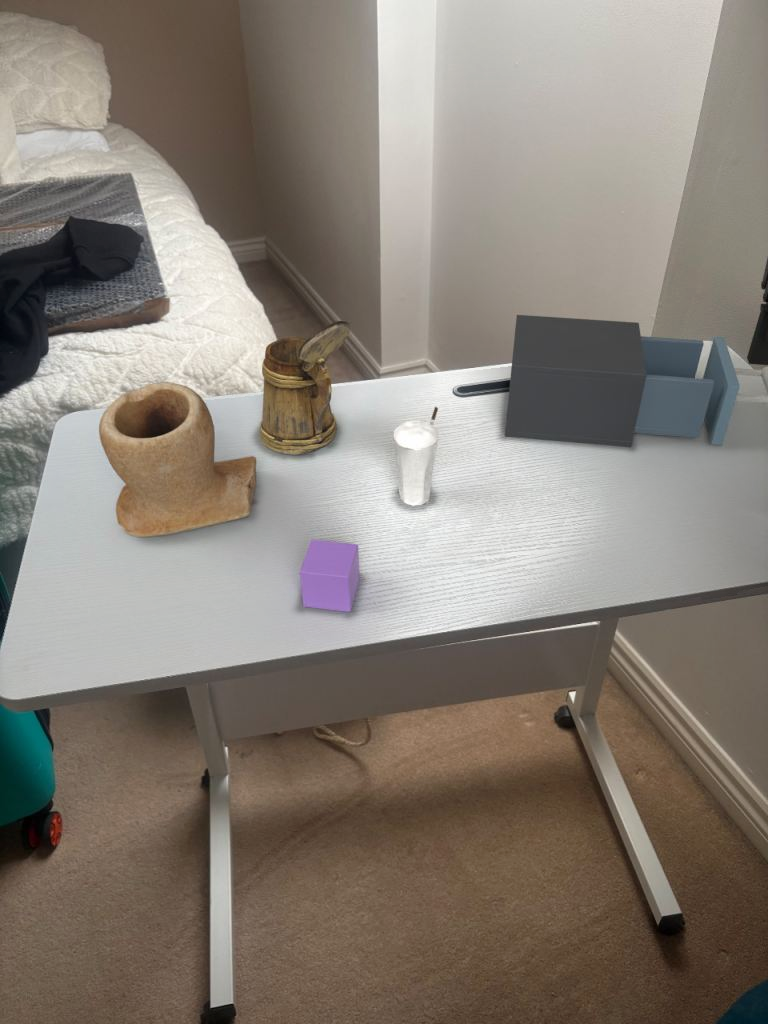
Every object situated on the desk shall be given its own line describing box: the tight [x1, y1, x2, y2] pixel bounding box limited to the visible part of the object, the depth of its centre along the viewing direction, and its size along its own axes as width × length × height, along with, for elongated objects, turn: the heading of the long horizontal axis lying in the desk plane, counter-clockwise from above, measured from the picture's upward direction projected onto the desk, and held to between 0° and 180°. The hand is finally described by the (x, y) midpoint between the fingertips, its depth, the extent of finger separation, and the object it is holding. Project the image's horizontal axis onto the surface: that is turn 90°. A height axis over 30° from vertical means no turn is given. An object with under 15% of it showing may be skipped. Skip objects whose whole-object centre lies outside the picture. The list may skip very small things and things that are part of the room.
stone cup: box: [98, 381, 257, 538], centre depth 83 cm, size 15×12×15 cm
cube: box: [299, 539, 360, 613], centre depth 77 cm, size 4×4×4 cm
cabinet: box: [504, 314, 647, 448], centre depth 99 cm, size 15×13×10 cm
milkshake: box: [393, 406, 439, 507], centre depth 87 cm, size 5×5×10 cm
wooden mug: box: [259, 320, 351, 456], centre depth 92 cm, size 9×14×18 cm, turn 39°
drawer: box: [634, 335, 768, 446], centre depth 97 cm, size 19×11×8 cm, turn 80°
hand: (760, 361), depth 94 cm, fingers closed
